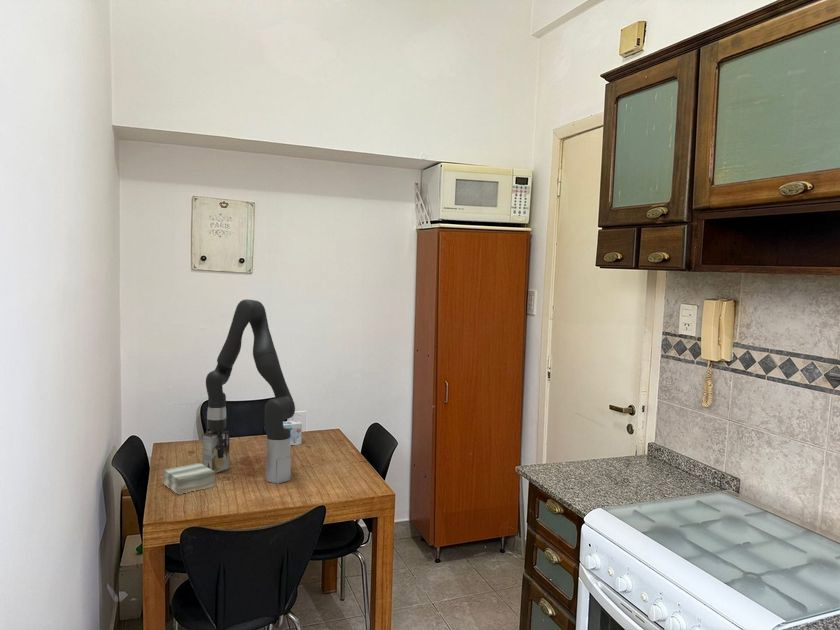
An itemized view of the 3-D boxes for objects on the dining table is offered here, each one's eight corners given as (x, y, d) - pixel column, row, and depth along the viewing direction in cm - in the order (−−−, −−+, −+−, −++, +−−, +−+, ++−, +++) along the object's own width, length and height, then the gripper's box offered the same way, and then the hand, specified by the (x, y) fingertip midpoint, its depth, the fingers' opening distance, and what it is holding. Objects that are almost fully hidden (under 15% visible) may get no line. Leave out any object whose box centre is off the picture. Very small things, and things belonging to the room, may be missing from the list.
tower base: (214, 486, 226) (214, 471, 226) (178, 495, 216) (178, 479, 216) (199, 477, 236) (199, 462, 236) (163, 484, 226) (163, 469, 226)
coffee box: (219, 465, 251) (220, 428, 250) (229, 468, 248) (230, 431, 246) (201, 471, 243) (202, 433, 242) (211, 474, 240) (212, 436, 239)
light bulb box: (280, 447, 281) (280, 425, 280) (276, 443, 286) (277, 421, 286) (302, 444, 286) (302, 423, 285) (298, 441, 291) (298, 420, 291)
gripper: (233, 419, 242) (232, 457, 243) (217, 412, 252) (217, 449, 253) (215, 422, 236) (214, 461, 238) (200, 415, 247) (200, 452, 248)
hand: (216, 455), depth 245 cm, fingers open, 8 cm apart
